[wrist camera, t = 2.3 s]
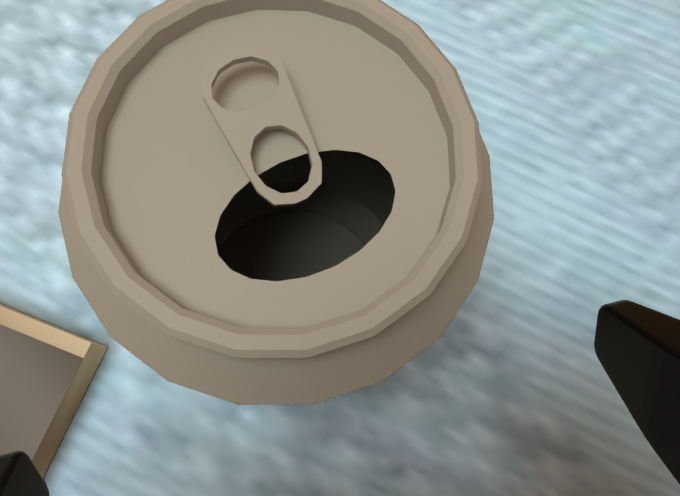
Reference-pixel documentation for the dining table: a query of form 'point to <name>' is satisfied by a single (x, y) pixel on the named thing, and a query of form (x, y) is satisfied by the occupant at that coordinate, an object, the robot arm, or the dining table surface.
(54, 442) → the subfloor panel
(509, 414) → the dining table surface
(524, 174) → the dining table surface
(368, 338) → the can
